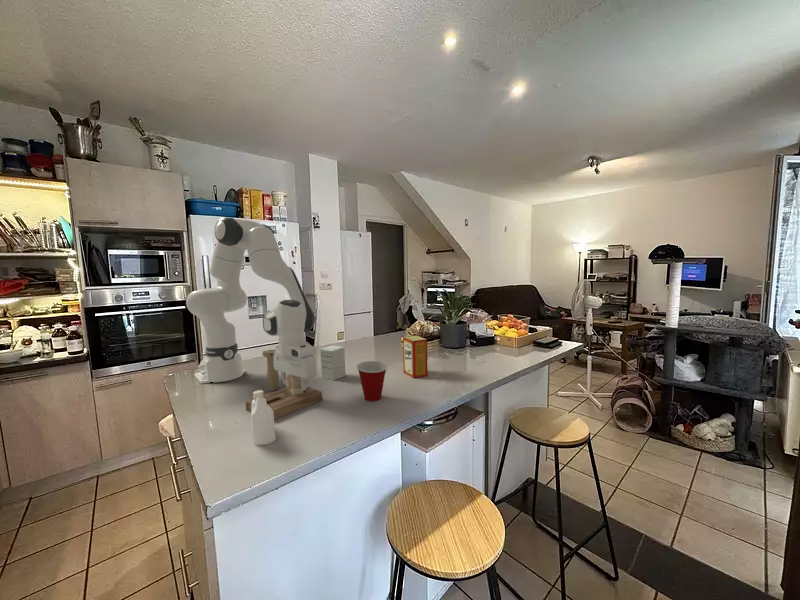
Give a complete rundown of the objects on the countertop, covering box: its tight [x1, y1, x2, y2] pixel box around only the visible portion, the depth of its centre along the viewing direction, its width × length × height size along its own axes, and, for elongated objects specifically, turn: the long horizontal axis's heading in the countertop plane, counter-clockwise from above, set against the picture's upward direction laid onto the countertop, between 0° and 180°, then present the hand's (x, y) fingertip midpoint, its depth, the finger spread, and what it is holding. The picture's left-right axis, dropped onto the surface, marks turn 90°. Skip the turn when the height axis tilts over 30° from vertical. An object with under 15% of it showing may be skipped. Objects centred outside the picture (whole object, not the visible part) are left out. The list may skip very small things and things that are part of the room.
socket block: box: [245, 386, 323, 420], centre depth 111 cm, size 14×20×3 cm
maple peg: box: [285, 373, 303, 397], centre depth 114 cm, size 4×4×10 cm
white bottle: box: [250, 389, 266, 432], centre depth 94 cm, size 5×5×11 cm
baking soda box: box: [402, 335, 429, 379], centre depth 139 cm, size 10×6×16 cm
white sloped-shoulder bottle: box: [250, 398, 276, 446], centre depth 87 cm, size 6×12×6 cm
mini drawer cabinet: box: [319, 345, 347, 381], centre depth 139 cm, size 7×7×13 cm
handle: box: [262, 349, 280, 391], centre depth 125 cm, size 5×6×15 cm
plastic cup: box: [356, 360, 389, 402], centre depth 114 cm, size 11×11×12 cm
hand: (294, 386), depth 114 cm, fingers open, 8 cm apart
